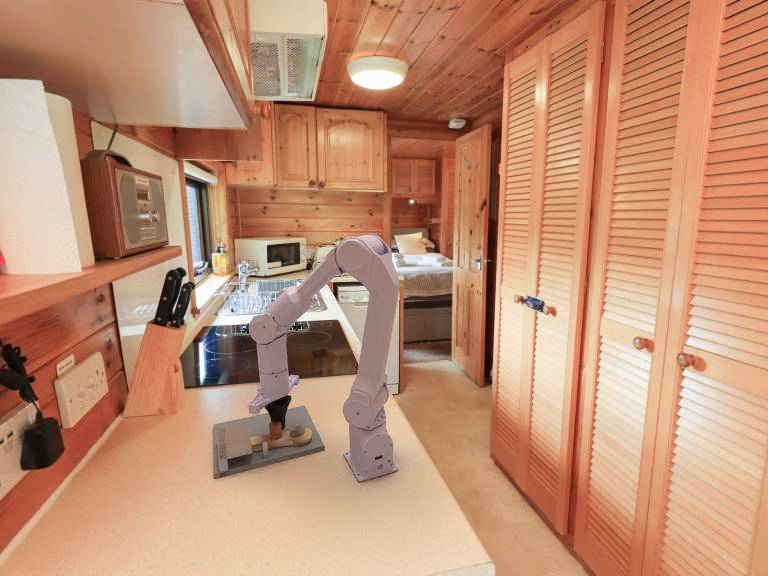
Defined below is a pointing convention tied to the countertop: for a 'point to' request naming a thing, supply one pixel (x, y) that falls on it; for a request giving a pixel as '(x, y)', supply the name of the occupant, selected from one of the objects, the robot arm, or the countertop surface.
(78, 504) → the countertop surface
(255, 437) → the latch
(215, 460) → the board
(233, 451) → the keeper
